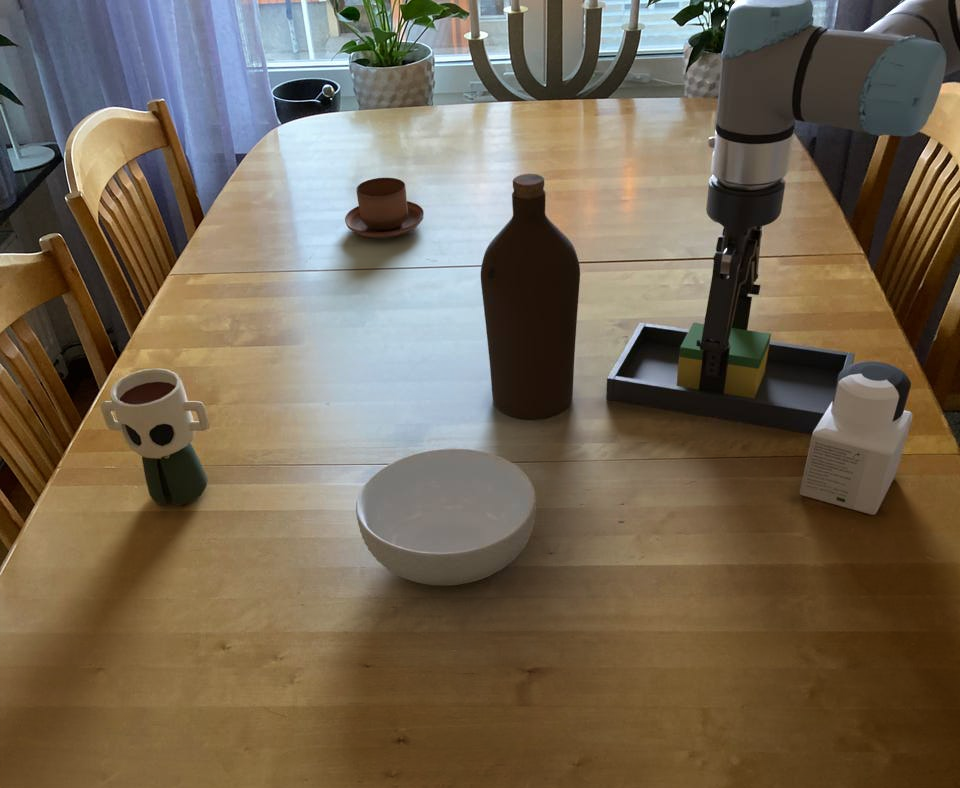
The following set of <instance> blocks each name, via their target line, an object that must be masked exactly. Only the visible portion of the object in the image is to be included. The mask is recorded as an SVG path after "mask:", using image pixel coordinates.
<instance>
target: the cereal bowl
mask: <svg viewBox="0 0 960 788" xmlns="http://www.w3.org/2000/svg"><path fill="white" fill-rule="evenodd" d="M536 501H537V496H536V491H535V488H534V485H533V484H532V481H531V479H530V478H529V476H528V475H527V474H526V473H525V472H524V471H523V469H522V468H520V467H519V466H518V465H516V464H515V463H514V462H512V461H510V460H508V459H506V458H504V457H501V456H499V455H497V454H493V453H490V452H486V451H483V450H476V449H471V448H470V449H469V448H438V449H431V450H425V451H424V450H423V451H420V452H415V453H413V454H409V455H407V456H403V457H401V458H399V459H397V460H394V461H391V462H390V463H389V464H387V465H385V466H383V467H382V468H380V469H379V470H378V471H376V472H375V473H374V474H373V475H372V476H371V477H369V478H368V479H367V480H366V481H365V483H364V484H363V486H362V487H361V489H360V491H359V492H358V495H357V498H356V501H355V514H356V520H357V525H358V528H359V532H360V534H361V538H362V540H363V542H364V545H365V546H366V547H367V550H368V551H369V552H370V553H371V555H372V557H374V558H375V560H376V561H377V562H378V563H379V564H381V565H382V566H383V567H384V568H386V569H387V570H388V571H390V572H392V573H393V574H394V575H397V576H398V577H400V578H404V579H406V580H407V581H412V582H414V583H419V584H422V585H424V584H425V585H429V586H446V587H447V586H457V585H464V584H469V583H473V582H476V581H480V580H482V579H484V578H487V577H490V576H491V575H494V574H496V573H498V572H500V571H501V570H503V569H504V568H505V567H508V565H509V564H511V563H512V562H514V561H515V559H516V558H517V557H518V556H519V554H520V553H522V551H523V550H524V548H525V546H527V545H528V541H529V540H530V539H531V535H532V533H533V528H534V526H535V520H536V507H537V503H536Z"/></svg>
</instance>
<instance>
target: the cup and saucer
mask: <svg viewBox="0 0 960 788" xmlns="http://www.w3.org/2000/svg"><path fill="white" fill-rule="evenodd" d="M355 191H356V198H357V203H358V204H357V206H355V207H353V208H352V209H351V210H350V211H348V212H347V214H346V215H345V216H344V223H345V225H346V227H347V229H349V230H350V231H351V232H353V233H354V234H356V235H359V236H362V237H366V238H372V239H385V238H386V239H387V238H394V237H398V236H401V235H404V234H407V233H409V232H410V231H413V230H414V229H416V228H417V227H419V225H420V224H421V223H422V221H423V219H424V213H425V212H424V209H423V208H422V206H420V204H417V203H415V202H412V201H408V199H407V189H406V183H405V182H404V181H403V180H401V179H399V178H394V177H375V178H371V179H367V180H365V181H362V182H361V183H359V184H358V185H357V186H356V190H355Z"/></svg>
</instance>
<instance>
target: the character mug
mask: <svg viewBox="0 0 960 788" xmlns="http://www.w3.org/2000/svg"><path fill="white" fill-rule="evenodd" d="M109 397H110V400H106V401H102V402H99V403H100V411H101V414H102V416H103V417H102V418H103V419H104V422H105V425H106V427H107V428H108V429H109V430H110V431H119V432H120V431H121V434H122V437H123V439H124V442H125V443H126V444H127V446H128V447H129V449H130V450H131V451H133V452H135V453H136V454H137V455H139V456H141V461H142V468H143V472H144V479H145V483H146V487H147V490H148V495H149V497H150V498H151V499H152V501H153V502H154V503H157V504H159V505H161V506H167V503H166V497H167V498H171V499H172V502H173V505H174V506H180V505H181V506H182V505H184V504H188V503H192V502H193V501H194V500H196V499H198V498H199V497H201V496H202V494H203V493H204V491H205V490H206V488H207V485H208V476H207V473H206V472H205V470H204V466H203V465H202V463H201V461H200V459H199V456H198V455H197V453H196V451H195V449H194V446H193V445H192V441H193V440H194V437H195V434H196V432H205V431H207V430H210V425H211V424H210V421H209V417H208V414H207V411H206V407H205V404H204V403H203V402H202V401H199V400H188V396H187V393H186V389H185V387H184V384H183V381H182V379H181V378H180V376H179V374H178V373H177V372H174V371H172V370H170V369H168V368H167V369H166V368H159V367H157V368H146V369H145V368H144V369H141V370H137V371H134V372H131V373H128V374H127V375H125V376H123V377H121V378H120V379H118V380H117V381H116V382H115V383H114V384H113V385H112V386H111V388H110V392H109ZM113 412H114V413H115V417H116V419H115V417H114V413H113ZM192 412H195V413H196V415H197V419H198V420H194V416H193V413H192Z"/></svg>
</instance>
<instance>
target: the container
mask: <svg viewBox="0 0 960 788" xmlns="http://www.w3.org/2000/svg"><path fill="white" fill-rule="evenodd" d="M911 387H912V382H911V380H910V377H909V376H908V375H907V374H906V372H905V371H903V370H902V369H901V368H899V367H898V366H895V365H893V364H890V363H886V362H882V361H875V360H871V361H869V360H863V361H858V362H853V364H851V365H849V366H847V367H846V368H844V369H843V370H842V371H841V372H840V373H839V375H838V379H837V384H836V388H835V392H834V397H833V401H832V403H831V404H830V406H829V407H828V409H827V411H826V412H825V414H824V415H823V417H822V419H821V420H820V422H819V423H818V425H817V427H816V428H815V430H814V431H813V433H812V434H811V437H810V438H811V439H810V443H809V447H808V453H807V458H806V462H805V466H804V470H803V475H802V480H801V484H800V489H799V494H800V495H801V496H803V497H805V498H810V499H813V500H817V501H821V502H825V503H828V504H831V505H834V506H839V507H843V508H846V509H849V510H852V511H856V512H860V513H863V514H867V515H871V516H874V515H876V514H877V512H878V511H879V509H880V508H881V505H882V503H883V501H884V499H885V497H886V495H887V493H888V491H889V490H890V487H891V485H892V483H893V481H894V480H895V477H896V475H897V472H898V469H899V467H900V466H899V465H900V462H901V459H902V455H903V451H904V449H905V445H906V441H907V439H908V435H909V431H910V428H911V425H912V421H913V419H914V413H913V412H911V411H908V410H905V408H906V405H907V401H908V397H909V394H910V391H911Z"/></svg>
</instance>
